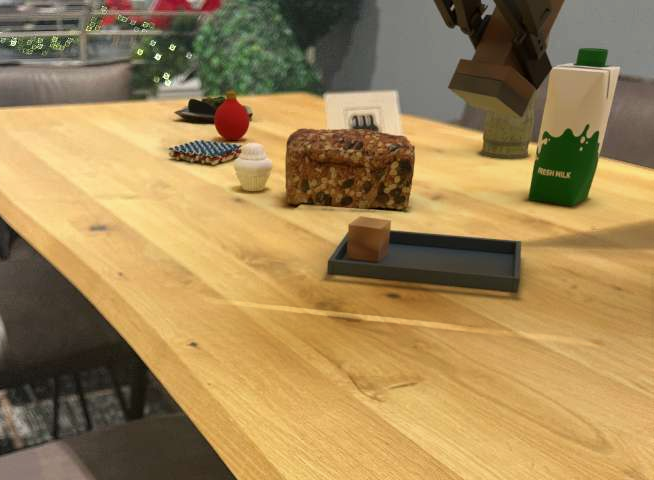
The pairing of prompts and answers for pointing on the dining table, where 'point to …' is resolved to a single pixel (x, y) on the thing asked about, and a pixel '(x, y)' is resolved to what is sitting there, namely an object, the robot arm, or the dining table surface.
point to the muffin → (253, 167)
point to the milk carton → (573, 128)
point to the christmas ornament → (231, 118)
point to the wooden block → (368, 239)
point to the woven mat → (206, 152)
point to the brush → (497, 69)
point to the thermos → (509, 132)
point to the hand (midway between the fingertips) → (521, 75)
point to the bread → (349, 168)
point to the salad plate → (204, 110)
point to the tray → (438, 261)
